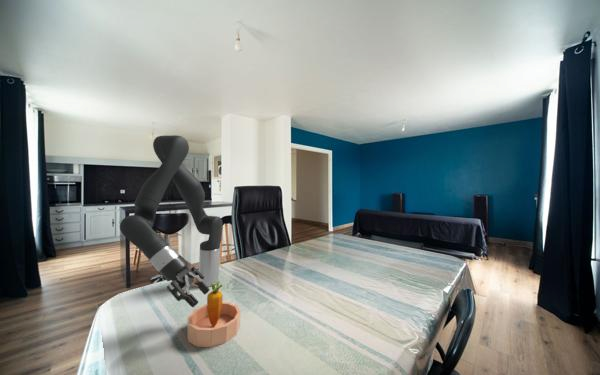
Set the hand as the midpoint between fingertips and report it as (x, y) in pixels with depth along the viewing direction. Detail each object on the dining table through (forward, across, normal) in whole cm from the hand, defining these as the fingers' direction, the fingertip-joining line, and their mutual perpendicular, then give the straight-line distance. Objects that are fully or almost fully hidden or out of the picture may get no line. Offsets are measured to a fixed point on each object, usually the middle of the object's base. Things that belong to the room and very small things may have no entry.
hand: (202, 298), depth 72 cm
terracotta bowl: (+10, 0, +4) cm, 11 cm away
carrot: (+10, 0, +4) cm, 10 cm away
